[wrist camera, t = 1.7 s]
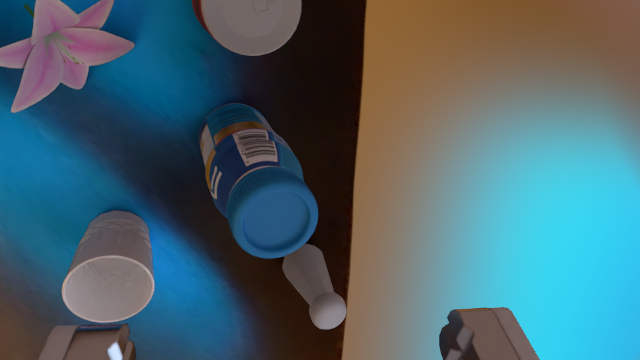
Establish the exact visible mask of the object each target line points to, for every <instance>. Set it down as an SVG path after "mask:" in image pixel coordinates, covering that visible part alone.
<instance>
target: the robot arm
mask: <svg viewBox="0 0 640 360" xmlns="http://www.w3.org/2000/svg"><path fill="white" fill-rule="evenodd" d="M447 318H448V321H449V324H447V325H446V326H444V327H443V328H442V330H441V333H440V335H439V346H440V351H441V355H442V357H443V360H540V359H539V358H538V356H537V354H536V353H535V351H534V349H533V348H532V346H531V344H530V343H529V340H528V339H527V337H526V335H525V334H524V332H523V330H522V329H521V327H520V325H519V323H518V322H517V320H516V318H515V316H514V315H513V313H512V311H510V310H509V309H508V308H504V307H500V308H474V309H457V310H453V311H451V312H450V313H449V315H448V317H447ZM129 334H130V330H129V327H128V324H102V325H67V326H55V328H54V329H53V330H52V331H51V332H50V334H49V336H48V338H47V340H46V342H45V344H44V346H43V349H42V351H41V353H40V355H39V357H38V359H37V360H136V352H135V346H134V342H132V341H130V340H129V339H128V338H129Z"/></svg>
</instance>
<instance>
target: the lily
mask: <svg viewBox="0 0 640 360" xmlns="http://www.w3.org/2000/svg"><path fill="white" fill-rule="evenodd" d="M113 3H114V0H101V1H99V2H97V3H96V4H94V5H93V6H91V7H89V8H88V9H86V10H84V11H83V12H81V13H80V14H76V13H75V12H74V11H73V10H71V9H70V8H69V7H68V6H66V5H65V4H64V3H63V2H61V1H60V0H36V3H35V11H34V12H33V11H32V10H31V9H30V7H29V6H28V5H27V4H25V5H24V7H25V8H26V9H27V10H28V12H29V13H30V14H31V16H32V17H33V18H34V23H33V31H32V37H30V38H27V39H25V40H22V41H19V42H16V43H13V44H10V45H7V46H4V47H2V48H0V66H3V67H8V68H19V69H20V68H25V69H24V72H23V76H22V80H21V83H20V87H19V90H18V92H17V95H16V97H15V100H14V102H13V105H12V108H11V111H12V113H14V112H19V111H21V110H23V109H25V108H27V107H29V106H31V105H33V104H35V103H36V102H38V101H40V100H41V99H43V98H44V97H46V96H47V95H48V94H50V93H51V92H52V91H53V90H55V88H56V87H57V86H58V85H59V83H60V82H61V83H63V84H65V85H67V86H69V87H71V88H74V89H81V88H82V87H83V86H84V84H85V82H86V79H87V75H88V69H89V66H93V65H100V64H104V63H107V62H110V61H112V60H114V59H116V58H118V57H120V56H122V55H124V54H126V53H127V52H129V51H130V50H132V49H133V47H134V46H135V45H134V43H133V42H131V41H129V40H126V39H124V38H121V37H118V36H116V35H113V34H111V33H108V32H105V31H101V30H99V29H100V28H101V27H102V26H103V24H104V23H105V21H106V20H107V17H108V15H109V13H110V11H111V8H112V6H113Z"/></svg>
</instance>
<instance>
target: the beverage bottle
mask: <svg viewBox="0 0 640 360" xmlns="http://www.w3.org/2000/svg"><path fill="white" fill-rule="evenodd" d="M199 146H200V150H201V153H202V156H203V160H204V164H205V169H206V180H207V184H208V187H209V190H210V192H211V194H212V198H213V201H214V203H215V205H216V207H217V208H218V209H219V211H220V212H221V213H222V214H223V215H224V216H225V217H226V218H227V219H228V221H229V225H230V228H231V232H232V234H233V237H234V239H236V242H237V243H238V244H239V245H240V247H241V248H242V249H244V250H245V251H246V252H248V253H249V254H251V255H254V256H257V257H261V258H278V257H282V256H285V255H288V254H290V253H292V252H294V251H296V250H297V249H299V248H300V247H301V246H303V245H304V244H305V243H306V242H307V241H308V239H309V238H310V237H311V235H312V234H313V232H314V230H315V227H316V225H317V220H318V208H317V204H316V200H315V198H314V195H313V194H312V192H311V191H310V190H309V188H308V187H307V185H306V184H305V183H304V182H303V173H302V169H301V166H300V163H299V161H298V160H297V158H296V157H295V155H294V154H293V152H292V150H291V149H290V147H289V146H288V144H287V143H286V142H285V141H284V140H283V139H282V138H281V137H280V136H278V135H277V134H276V133H275V132H274V131H273V130H272V128H271V127H270V126H269V124H268V122H267V120H266V119H265V118H264V116H263V115H262V114H261V113H260V112H259V111H257V110H256V109H254V108H253V107H250V106H248V105H245V104H239V103H232V104H226V105H223V106H220V107H218V108H216V109H215V110H213V111H212V112H211V113H210V114H209V115H208V116H207V117H206V118H205V120H204V121H203V123H202V125H201V128H200V131H199Z"/></svg>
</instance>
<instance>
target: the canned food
mask: <svg viewBox="0 0 640 360" xmlns="http://www.w3.org/2000/svg"><path fill="white" fill-rule="evenodd" d="M192 3H193V8H194V12H195V15H196V17H197V19H198V20H199V22H200V23H201V25H202V26H203V27H204V28H205V29H206V30H207V32H208V33H209V34H210V35H211V36H212V37H213V38H214V39H215V40H217V41H218V42H219V43H220V44H221V45H222V46H224V47H226V48H227V49H229V50H231V51H233V52H236V53H239V54H243V55H249V56H256V55H263V54H267V53H270V52H272V51H274V50H277V49H278V48H279V47H281V46H282V45H284V44H285V43H286V42H287V41H288V40H289V38H290V37H291V36H292V34H293V33H294V31H295V30H296V27H297V25H298V22H299V19H300V14H301V0H192Z"/></svg>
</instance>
